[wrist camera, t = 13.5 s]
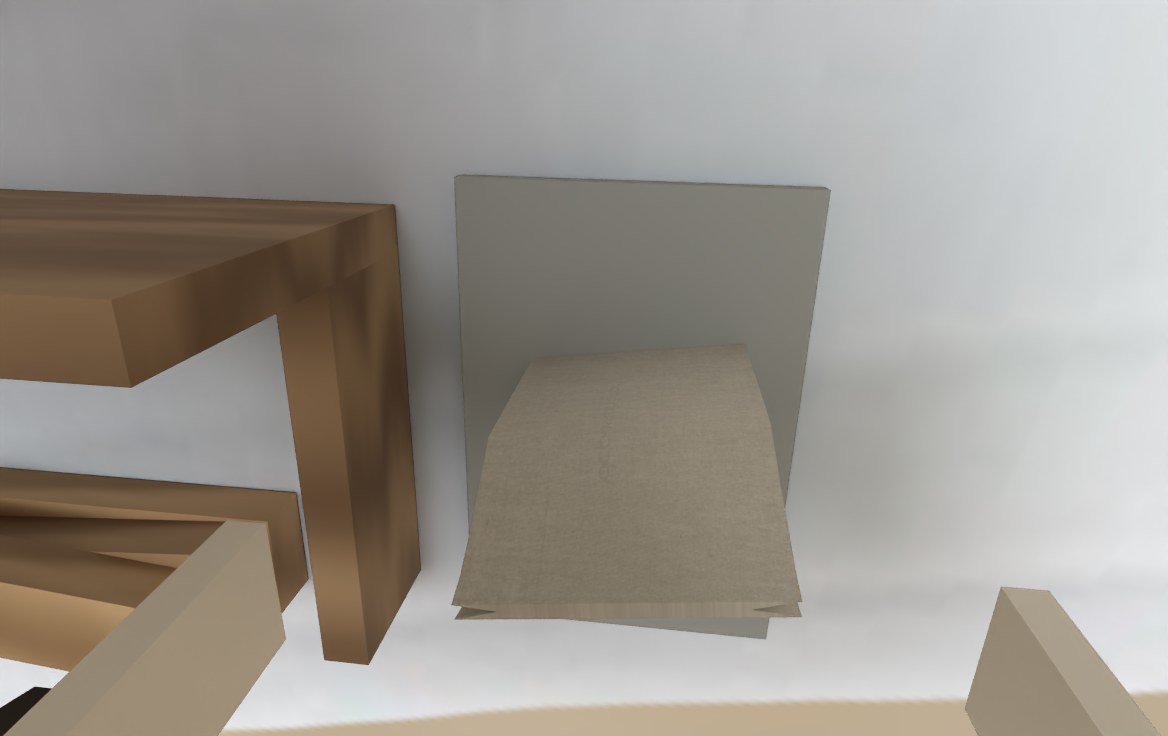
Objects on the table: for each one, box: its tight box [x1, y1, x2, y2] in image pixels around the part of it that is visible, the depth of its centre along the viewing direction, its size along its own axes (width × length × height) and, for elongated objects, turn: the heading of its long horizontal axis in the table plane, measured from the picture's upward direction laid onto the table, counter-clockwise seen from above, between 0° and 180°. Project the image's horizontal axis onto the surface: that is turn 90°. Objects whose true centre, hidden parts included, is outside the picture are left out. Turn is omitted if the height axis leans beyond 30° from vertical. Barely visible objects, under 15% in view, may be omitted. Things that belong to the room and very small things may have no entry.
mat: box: [454, 175, 831, 639], centre depth 23 cm, size 16×11×1 cm
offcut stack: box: [0, 468, 308, 671], centre depth 25 cm, size 5×14×6 cm, turn 88°
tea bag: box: [452, 344, 802, 619], centre depth 18 cm, size 4×7×10 cm, turn 96°
